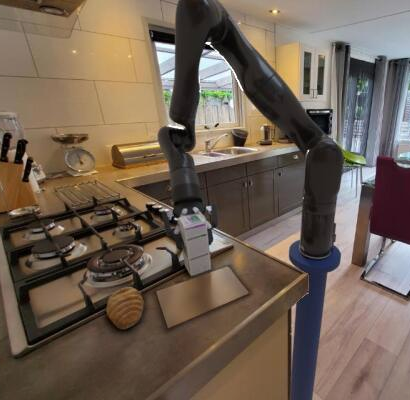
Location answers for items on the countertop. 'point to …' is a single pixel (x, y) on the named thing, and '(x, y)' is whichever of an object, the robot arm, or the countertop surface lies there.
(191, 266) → the syrup box
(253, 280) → the countertop surface
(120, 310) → the pastry
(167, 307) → the flat rectangular metal plate
